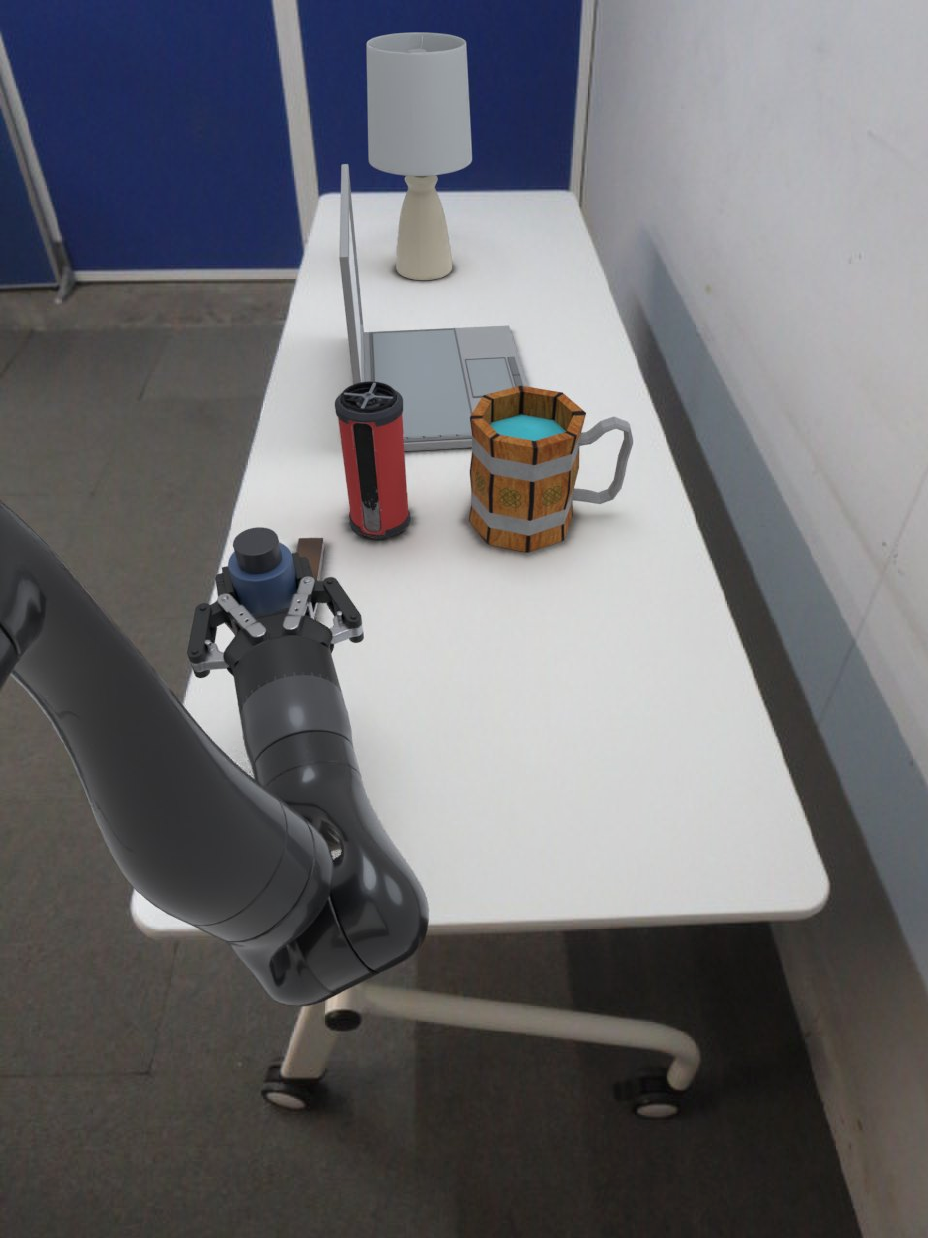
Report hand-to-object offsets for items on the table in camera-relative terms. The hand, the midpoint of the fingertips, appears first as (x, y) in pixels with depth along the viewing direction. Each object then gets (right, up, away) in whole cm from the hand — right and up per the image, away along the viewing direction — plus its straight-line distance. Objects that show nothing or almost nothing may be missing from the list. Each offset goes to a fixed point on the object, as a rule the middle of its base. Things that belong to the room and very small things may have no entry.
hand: (261, 567), depth 70 cm
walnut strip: (-1, -2, +23) cm, 23 cm away
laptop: (+14, +32, +56) cm, 66 cm away
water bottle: (+1, -7, +3) cm, 7 cm away
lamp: (+10, +64, +89) cm, 110 cm away
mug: (+28, +8, +33) cm, 44 cm away
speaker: (+7, +8, +33) cm, 34 cm away
